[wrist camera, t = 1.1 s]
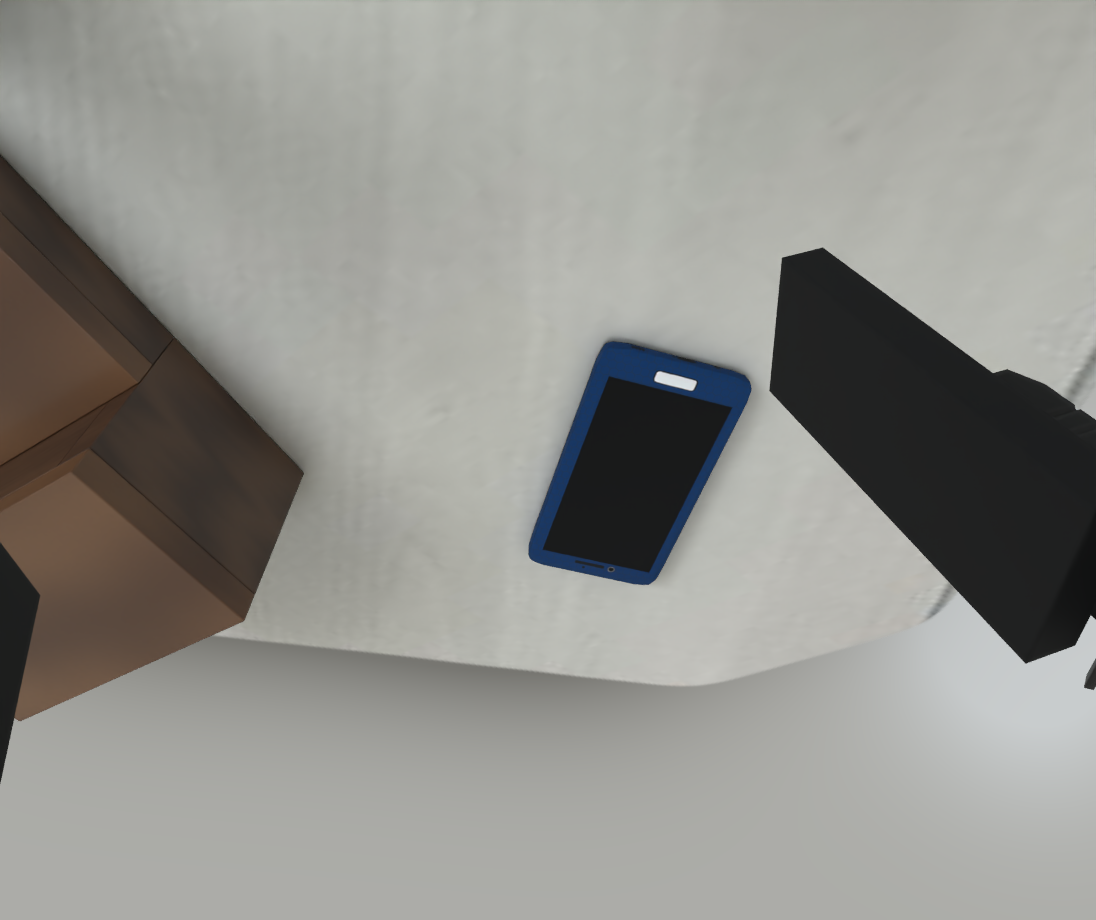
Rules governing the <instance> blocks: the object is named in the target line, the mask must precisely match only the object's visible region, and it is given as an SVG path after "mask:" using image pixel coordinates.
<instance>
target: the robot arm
mask: <svg viewBox="0 0 1096 920" xmlns="http://www.w3.org/2000/svg"><path fill="white" fill-rule="evenodd" d="M770 392H771V393H772V394H773V395H774V396H775V397H776V398H777V399H778V400H779V401H780V403H781V404H782V405H783V406H784V407H785V408H786V409H787V410H788V411H789V412H790V413H791V414H792V415H793V416H794V417H795V418H796V420H797V421H798V422H799V423H800V424H801V425H802V426H803V427H804V428H805V429H806V430H807V431H808V432H809V433H810V434H811V436H812V437H813V438H814V439H815V440H816V441H817V442H818V443H819V444H820V445H821V446H822V447H823V448H824V449H825V450H826V451H827V453H828V454H829V455H830V456H831V457H832V458H833V459H834V460H835V461H836V462H837V463H838V464H839V465H840V466H841V467H842V469H843V470H844V471H845V472H846V473H847V474H848V475H849V476H850V477H851V478H852V479H853V480H854V481H855V482H856V483H857V484H858V486H859V487H860V488H861V489H862V490H863V491H864V492H865V493H866V494H867V495H868V496H869V497H870V498H871V499H872V500H873V502H874V503H875V504H876V505H877V506H878V507H879V508H880V509H881V510H882V511H883V512H884V513H885V514H886V515H887V516H888V518H889V519H890V520H891V521H892V522H893V523H894V524H895V525H896V526H897V527H898V528H899V529H900V530H901V531H902V532H903V533H904V535H905V536H906V537H907V538H908V539H909V540H910V541H911V542H912V543H913V544H914V545H915V546H916V547H917V548H918V549H919V551H920V552H921V553H922V554H923V555H924V556H925V557H926V558H927V559H928V560H929V561H930V562H931V563H932V564H933V565H934V566H935V568H936V569H937V570H938V571H939V572H940V573H941V574H942V575H943V576H944V577H945V578H946V579H947V580H948V581H949V582H950V584H951V585H952V586H953V587H954V588H955V589H956V590H957V591H958V592H959V593H960V594H961V595H962V596H963V597H964V598H965V599H966V601H968V603H969V604H970V605H971V606H972V607H973V608H974V609H975V610H976V611H977V612H978V613H979V614H980V615H981V616H982V617H983V619H984V620H985V621H986V622H987V623H988V624H989V625H990V626H991V627H992V628H993V629H994V630H995V631H996V632H997V634H998V635H999V636H1000V637H1001V638H1002V639H1003V640H1004V641H1005V642H1006V643H1007V644H1008V645H1009V646H1010V647H1011V648H1012V649H1013V650H1014V652H1015V653H1016V654H1017V655H1018V656H1019V657H1020V658H1021V659H1022V660H1023V661H1024V662H1025V663H1028V662H1031V661H1034V660H1037V659H1039V658H1042V657H1045V656H1047V655H1050V654H1053V653H1056V652H1058V651H1061V650H1064V649H1067V648H1069V647H1072V646H1075V645H1076V643H1077V641H1078V638H1079V637H1080V635H1081V633H1082V631H1083V629H1084V627H1085V625H1086V623H1087V621H1088V619H1089V617H1090V615H1091V616H1093V617H1094V618H1095V619H1096V420H1095V419H1094V418H1092V417H1091V416H1089V415H1088V414H1086V413H1085V412H1084V411H1082V410H1081V409H1080V410H1076V409H1075V405H1074V404H1072V403H1071V402H1070V401H1068V400H1067V399H1065V398H1064V397H1062V396H1061V395H1060V394H1058V393H1057V392H1055V391H1054V390H1053V389H1051V388H1050V387H1048V386H1047V385H1045V384H1043V383H1041V382H1038V381H1036V380H1033V379H1031V378H1028V377H1025V376H1023V375H1020V374H1018V373H1015V372H1013V371H1010V370H1008V369H1006V370H1003V371H999V372H996V373H992V372H990V371H989V370H988V369H986V368H985V367H984V366H982V365H981V364H980V363H978V362H977V361H976V360H974V359H973V358H972V357H970V356H969V355H967V354H966V353H965V352H963V351H962V350H961V349H959V348H958V347H957V346H955V345H954V344H953V343H951V342H950V341H948V340H947V339H946V338H944V337H943V336H942V335H940V334H939V333H938V332H936V331H935V330H934V329H932V328H931V327H930V326H928V325H927V324H925V323H924V322H923V321H921V320H920V319H919V318H917V317H916V316H915V315H913V314H912V313H911V312H909V311H908V310H906V309H905V308H904V307H902V306H901V305H900V304H898V303H897V302H896V301H894V300H893V299H892V298H890V297H889V296H888V295H886V294H885V293H883V292H882V291H881V290H879V289H878V288H877V287H875V286H874V285H873V284H871V283H870V282H869V281H867V280H866V279H864V278H863V277H862V276H860V275H859V274H858V273H856V272H855V271H854V270H852V269H851V268H850V267H848V266H847V265H846V264H844V263H843V262H841V261H840V260H839V259H837V258H836V257H835V256H833V255H832V254H831V253H829V252H828V251H827V250H825V249H824V248H819V249H815V250H811V251H807V252H803V253H799V254H795V255H791V256H787V257H783V258H782V264H781V275H780V285H779V296H778V306H777V317H776V327H775V338H774V348H773V359H772V370H771V380H770ZM39 599H40V594H39V593H38V591H37V590H36V589H35V587H34V586H33V585H32V583H31V582H30V581H29V580H28V578H27V577H26V576H25V574H24V573H23V572H22V570H21V569H20V568H19V566H18V565H17V564H16V562H15V561H14V560H13V558H12V557H11V556H10V554H9V553H8V552H7V550H6V549H5V548H4V546H3V545H2V544H1V542H0V782H1V778H2V773H3V768H4V763H5V759H6V754H7V749H8V745H9V740H10V735H11V730H12V726H13V721H14V717H15V712H16V707H17V703H18V698H19V693H20V688H21V684H22V679H23V674H24V670H25V665H26V660H27V656H28V651H29V646H30V642H31V637H32V632H33V627H34V623H35V618H36V613H37V609H38V604H39ZM1095 687H1096V659H1095V661H1094V663H1093V665H1092V666H1091V668H1090V670H1089V672H1088V673H1087V676H1086V681H1085V685H1084V688H1088V689H1092V690H1094V688H1095Z"/></svg>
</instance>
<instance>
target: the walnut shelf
mask: <svg viewBox="0 0 1096 920" xmlns="http://www.w3.org/2000/svg"><path fill="white" fill-rule="evenodd" d="M303 474H304V473H303V472H302V471H301V470H300V469H299V468H298V466H297V465H296V464H295V463H294V462H293V461H292V460H291V459H290V458H289V457H288V456H287V455H286V454H285V453H284V452H283V451H282V450H281V449H280V448H279V447H278V446H277V444H276V443H275V442H274V441H273V440H272V439H271V438H270V437H269V436H268V435H267V434H266V433H265V432H264V431H263V430H262V429H261V428H260V427H259V426H258V425H257V424H256V422H255V421H254V420H253V419H252V418H251V417H250V416H249V415H248V414H247V413H246V412H245V411H244V410H243V409H242V408H241V407H240V406H239V405H238V404H237V403H236V402H235V401H234V399H233V398H232V397H231V396H230V395H229V394H228V393H227V392H226V391H225V390H224V389H223V388H222V387H221V386H220V385H219V384H218V383H217V382H216V381H215V380H214V379H213V377H212V376H211V375H210V374H209V373H208V372H207V371H206V370H205V369H204V368H203V367H202V366H201V365H200V364H199V363H198V362H197V361H196V360H195V359H194V358H193V357H192V355H191V354H190V353H189V352H188V351H187V350H186V349H185V348H184V347H183V346H182V345H181V344H180V343H179V342H178V341H177V340H176V339H175V338H173V336H172V335H171V334H170V333H169V331H168V330H167V329H166V328H165V327H164V326H163V325H162V324H161V323H160V322H159V321H158V320H157V319H156V318H155V317H154V316H153V315H152V314H151V313H150V312H149V311H148V309H147V308H146V307H145V306H144V305H143V304H142V303H141V302H140V301H139V300H138V299H137V298H136V297H135V296H134V295H133V294H132V293H131V292H130V291H129V290H128V289H127V287H126V286H125V285H124V284H123V283H122V282H121V281H120V280H119V279H118V278H117V277H116V276H115V275H114V274H113V273H112V272H111V271H110V270H109V269H108V268H107V267H106V266H105V264H104V263H103V262H102V261H101V260H100V259H99V258H98V257H97V256H96V255H95V254H94V253H93V252H92V251H91V250H90V249H89V248H88V247H87V246H86V245H85V244H84V242H83V241H82V240H81V239H80V238H79V237H78V236H77V235H76V234H75V233H74V232H73V231H72V230H71V229H70V228H69V227H68V226H67V225H66V224H65V223H64V222H63V220H62V219H61V218H60V217H59V216H58V215H57V214H56V213H55V212H54V211H53V210H52V209H51V208H50V207H49V206H48V205H47V204H46V203H45V202H44V201H43V200H42V199H41V197H40V196H39V195H38V194H37V193H36V192H35V191H34V190H33V189H32V188H31V187H30V186H29V185H28V184H27V183H26V182H25V181H24V180H23V179H22V178H21V177H20V175H19V174H18V173H17V172H16V171H15V170H14V169H13V168H12V167H11V166H10V165H9V164H8V163H7V162H6V161H5V160H4V159H3V158H2V157H1V156H0V542H1V544H2V545H3V546H4V548H5V549H6V550H7V552H8V553H9V554H10V556H11V557H12V558H13V560H14V561H15V562H16V564H17V565H18V566H19V568H20V569H21V570H22V572H23V573H24V574H25V576H26V577H27V578H28V580H29V581H30V582H31V583H32V585H33V586H34V587H35V589H36V590H37V591H38V593H39V594H40V599H39V604H38V609H37V613H36V618H35V623H34V627H33V632H32V637H31V642H30V646H29V651H28V656H27V660H26V665H25V670H24V674H23V679H22V684H21V688H20V693H19V698H18V703H17V707H16V712H15V717H14V718H15V719H17V720H18V721H22V720H24V719H26V718H29V717H31V716H33V715H35V714H38V713H40V712H42V711H44V710H46V709H49V708H51V707H53V706H55V705H57V704H60V703H62V702H64V701H66V700H69V699H71V698H73V697H75V696H78V695H80V694H82V693H84V692H87V691H89V690H91V689H93V688H95V687H98V686H100V685H102V684H104V683H107V682H109V681H111V680H113V679H116V678H118V677H120V676H122V675H125V674H127V673H129V672H131V671H133V670H136V669H138V668H140V667H142V666H144V665H147V664H149V663H151V662H153V661H156V660H158V659H160V658H163V657H165V656H167V655H169V654H171V653H174V652H176V651H178V650H180V649H183V648H185V647H187V646H189V645H191V644H194V643H196V642H198V641H200V640H203V639H205V638H207V637H209V636H212V635H214V634H216V633H218V632H221V631H223V630H225V629H227V628H230V627H232V626H234V625H236V624H238V623H241V622H243V621H244V620H245V618H246V615H247V613H248V610H249V608H250V606H251V603H252V601H253V598H254V594H255V593H256V591H257V588H258V586H259V583H260V581H261V578H262V576H263V573H264V571H265V568H266V566H267V563H268V561H269V559H270V556H271V554H272V551H273V549H274V546H275V544H276V541H277V539H278V536H279V534H280V531H281V529H282V526H283V524H284V521H285V519H286V516H287V514H288V511H289V509H290V506H291V504H292V501H293V499H294V497H295V494H296V492H297V489H298V487H299V484H300V482H301V479H302V477H303Z"/></svg>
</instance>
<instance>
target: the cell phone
mask: <svg viewBox="0 0 1096 920" xmlns="http://www.w3.org/2000/svg"><path fill="white" fill-rule="evenodd" d="M750 393H751V385H750V381H749V380H748V379H747V377H746V376H745V375H742V374H740V373H737V372H735V371H732V370H728V369H725V368H721V367H717V366H713V365H709V364H705V363H701V362H698V361H694V360H690V359H686V358H682V357H678V356H675V355H671V354H667V353H663V352H659V351H655V350H652V349H648V348H644V347H640V346H636V345H632V344H629V343H622V342H614V341H613V342H608V343H606V344H605V345H604V346H603V348H602V349H601V351H600V353H599V355H598V357H597V359H596V361H595V364H594V367H593V369H592V372H591V375H590V378H589V380H588V383H587V386H586V389H585V391H584V394H583V397H582V399H581V402H580V405H579V408H578V410H577V413H576V416H575V419H574V421H573V424H572V427H571V430H570V432H569V435H568V438H567V440H566V443H565V446H564V449H563V451H562V454H561V457H560V460H559V462H558V465H557V468H556V470H555V473H554V476H553V479H552V481H551V484H550V487H549V490H548V492H547V495H546V498H545V501H544V503H543V506H542V509H541V511H540V514H539V517H538V520H537V522H536V525H535V528H534V531H533V534H532V537H531V540H530V543H529V554H528V555H529V557H530V559H531V560H533V561H535V562H537V563H540V564H543V565H547V566H552V567H557V568H561V569H566V570H571V571H575V572H580V573H585V574H589V575H594V576H599V577H603V578H608V579H613V580H617V581H622V582H627V583H632V584H639V585H649V584H650V583H652V582H653V581H655V580H656V578H657V577H658V575H659V573H660V571H661V570H662V568H663V566H664V564H665V562H666V560H667V558H668V556H669V554H670V552H671V550H672V549H673V547H674V545H675V543H676V541H677V539H678V537H679V535H680V533H681V531H682V529H683V527H684V525H685V523H686V521H687V519H688V517H689V515H690V513H691V511H692V509H693V507H694V505H695V503H696V501H697V500H698V498H699V496H700V494H701V492H702V490H703V488H704V486H705V484H706V482H707V480H708V478H709V476H710V474H711V472H712V470H713V468H714V466H715V464H716V462H717V460H718V458H719V456H720V454H721V452H722V451H723V449H724V447H725V445H726V443H727V441H728V439H729V437H730V435H731V433H732V431H733V429H734V427H735V425H736V423H737V421H738V419H739V417H740V415H741V413H742V411H743V409H744V407H745V405H746V403H747V401H748V398H749V396H750Z"/></svg>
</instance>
